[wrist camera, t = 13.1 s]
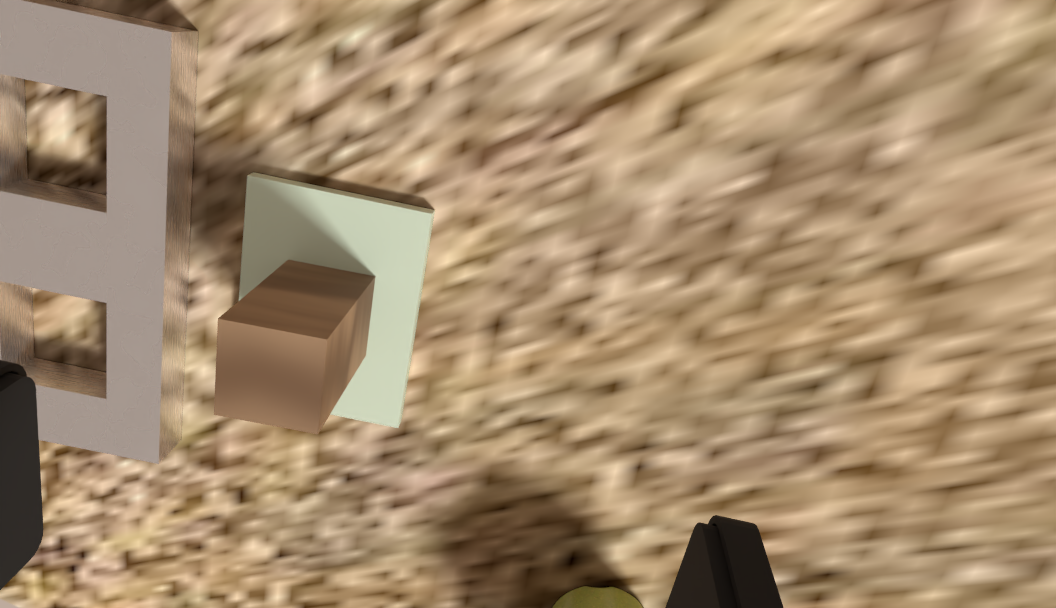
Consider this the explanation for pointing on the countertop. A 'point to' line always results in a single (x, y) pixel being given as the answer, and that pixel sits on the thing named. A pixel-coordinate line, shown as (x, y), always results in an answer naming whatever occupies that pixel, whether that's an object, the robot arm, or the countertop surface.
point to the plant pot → (597, 598)
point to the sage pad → (352, 245)
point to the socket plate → (102, 222)
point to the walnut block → (293, 346)
